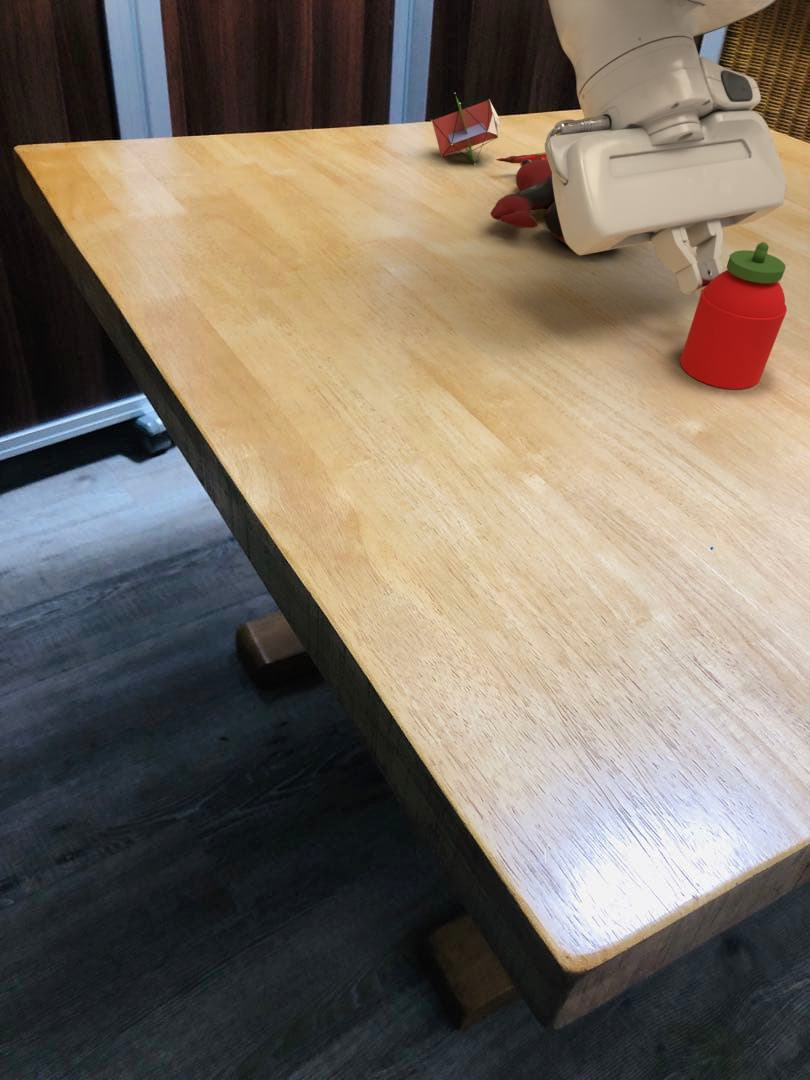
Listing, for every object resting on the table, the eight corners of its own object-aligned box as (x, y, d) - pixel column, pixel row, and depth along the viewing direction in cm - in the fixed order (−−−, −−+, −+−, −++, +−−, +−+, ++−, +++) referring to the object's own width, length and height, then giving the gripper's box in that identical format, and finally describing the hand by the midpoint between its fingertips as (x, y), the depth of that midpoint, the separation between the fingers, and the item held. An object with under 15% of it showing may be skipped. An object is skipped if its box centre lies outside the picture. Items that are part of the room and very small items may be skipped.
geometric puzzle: (421, 146, 95) (471, 84, 92) (415, 127, 100) (462, 68, 97) (468, 188, 99) (517, 130, 95) (459, 167, 104) (506, 112, 100)
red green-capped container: (741, 349, 68) (786, 227, 62) (773, 389, 64) (825, 262, 57) (669, 348, 68) (706, 224, 61) (696, 389, 63) (739, 259, 57)
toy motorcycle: (637, 192, 99) (505, 147, 100) (655, 146, 95) (519, 101, 96) (614, 284, 81) (454, 228, 82) (636, 231, 77) (468, 174, 78)
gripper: (565, 97, 57) (629, 296, 57) (771, 78, 66) (826, 251, 66) (514, 147, 63) (572, 328, 63) (710, 124, 72) (761, 283, 72)
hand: (704, 288), depth 65 cm, fingers closed, pressing on red green-capped container
